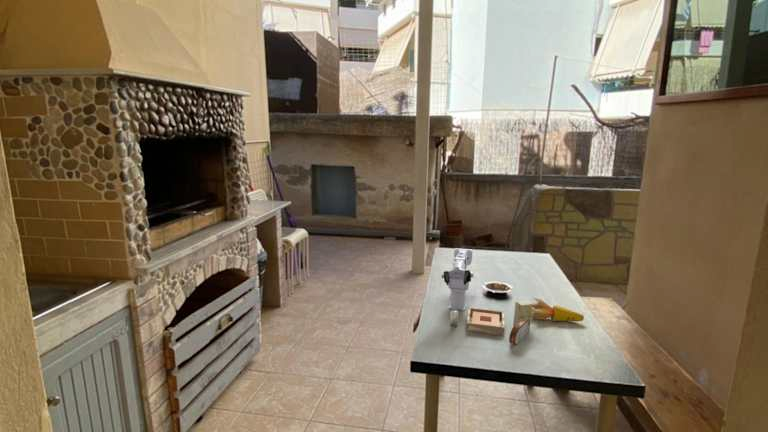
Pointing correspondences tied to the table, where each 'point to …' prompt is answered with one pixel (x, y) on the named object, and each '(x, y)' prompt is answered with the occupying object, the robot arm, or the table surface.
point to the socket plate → (485, 318)
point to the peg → (454, 318)
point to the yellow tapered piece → (554, 312)
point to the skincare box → (523, 311)
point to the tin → (518, 331)
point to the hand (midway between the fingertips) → (455, 282)
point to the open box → (483, 327)
